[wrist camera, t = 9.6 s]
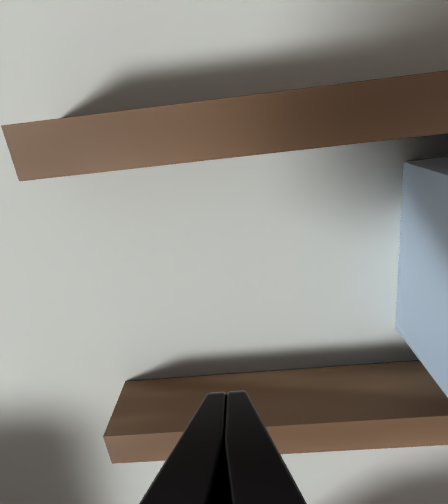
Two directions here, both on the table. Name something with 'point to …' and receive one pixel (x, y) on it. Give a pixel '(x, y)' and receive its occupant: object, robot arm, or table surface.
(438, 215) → the crate
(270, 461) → the robot arm
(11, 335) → the table surface
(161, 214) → the table surface
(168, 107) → the rack bay
